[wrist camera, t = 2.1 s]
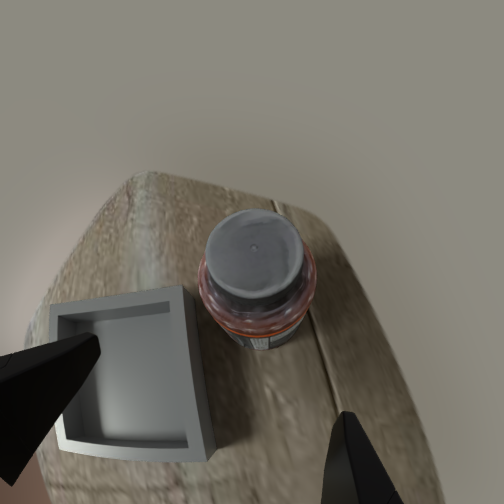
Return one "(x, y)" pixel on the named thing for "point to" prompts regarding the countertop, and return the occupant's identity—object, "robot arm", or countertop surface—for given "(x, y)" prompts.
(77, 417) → the tray
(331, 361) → the countertop surface
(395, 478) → the countertop surface
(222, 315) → the supplement bottle
